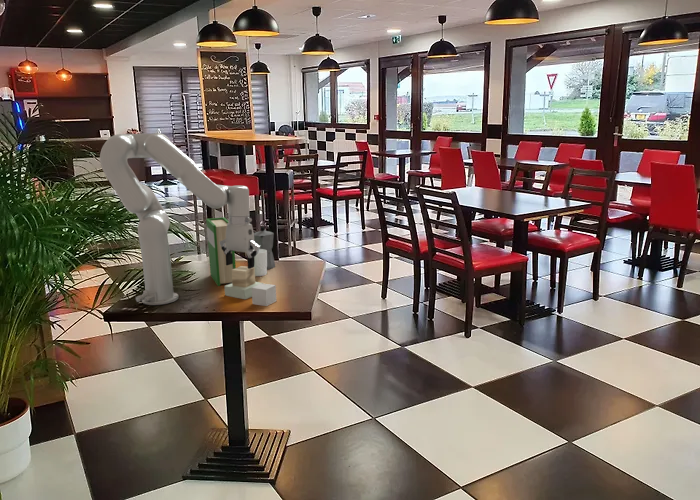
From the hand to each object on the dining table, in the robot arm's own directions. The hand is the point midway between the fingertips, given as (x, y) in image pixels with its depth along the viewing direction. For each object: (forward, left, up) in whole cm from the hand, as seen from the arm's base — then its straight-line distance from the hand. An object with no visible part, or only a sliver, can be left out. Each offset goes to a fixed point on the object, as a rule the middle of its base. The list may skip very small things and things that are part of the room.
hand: (240, 266), depth 209 cm
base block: (+1, -1, -11) cm, 11 cm away
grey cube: (-5, -14, -11) cm, 18 cm away
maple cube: (+1, -1, -7) cm, 7 cm away
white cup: (+26, +10, -11) cm, 30 cm away
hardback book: (+14, +19, -11) cm, 26 cm away
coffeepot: (+38, +15, -11) cm, 42 cm away
